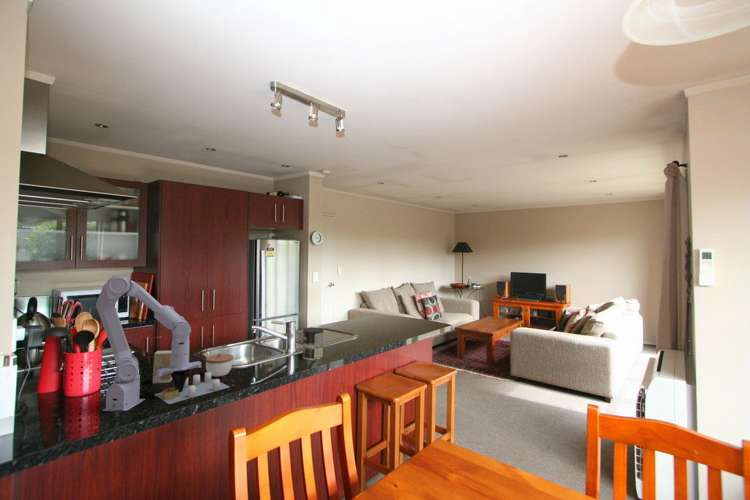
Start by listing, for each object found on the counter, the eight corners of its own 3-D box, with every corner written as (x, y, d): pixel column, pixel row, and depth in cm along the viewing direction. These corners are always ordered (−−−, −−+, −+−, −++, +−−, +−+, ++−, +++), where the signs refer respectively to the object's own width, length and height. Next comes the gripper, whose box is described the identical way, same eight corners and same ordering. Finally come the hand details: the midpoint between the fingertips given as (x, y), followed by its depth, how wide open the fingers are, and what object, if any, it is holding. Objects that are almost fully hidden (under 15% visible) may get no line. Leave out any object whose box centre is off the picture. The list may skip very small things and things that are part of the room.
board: (168, 405, 123) (169, 393, 123) (154, 395, 131) (154, 384, 131) (230, 388, 140) (230, 377, 140) (213, 380, 148) (213, 370, 148)
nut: (177, 398, 128) (177, 391, 128) (160, 400, 126) (160, 393, 126) (179, 394, 132) (179, 387, 132) (163, 395, 130) (163, 388, 130)
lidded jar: (199, 377, 152) (199, 354, 152) (219, 370, 162) (220, 348, 162) (217, 381, 148) (218, 358, 148) (238, 373, 157) (238, 352, 158)
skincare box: (152, 384, 142) (153, 353, 142) (155, 381, 146) (156, 350, 147) (170, 383, 144) (171, 352, 144) (173, 380, 148) (174, 349, 148)
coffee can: (303, 360, 178) (304, 332, 179) (301, 355, 188) (302, 327, 189) (324, 359, 182) (325, 331, 182) (321, 354, 191) (321, 327, 192)
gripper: (163, 360, 124) (162, 400, 124) (205, 351, 135) (204, 388, 135) (155, 356, 128) (154, 394, 128) (196, 348, 140) (195, 384, 139)
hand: (179, 391), depth 132 cm, fingers closed
